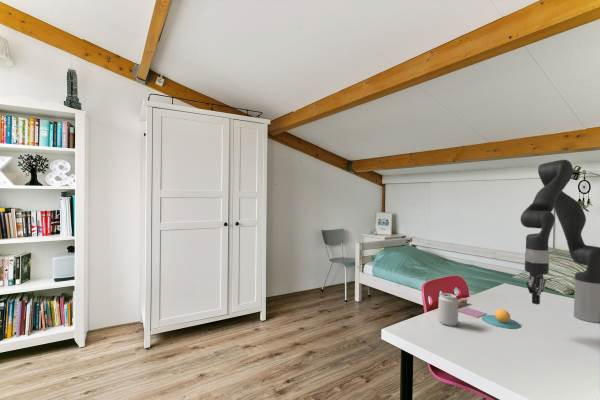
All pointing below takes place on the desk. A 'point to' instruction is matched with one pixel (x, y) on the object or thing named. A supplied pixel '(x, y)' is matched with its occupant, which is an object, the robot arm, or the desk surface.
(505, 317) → the ball
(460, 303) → the stopper
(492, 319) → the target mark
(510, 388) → the desk surface
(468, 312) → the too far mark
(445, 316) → the can
